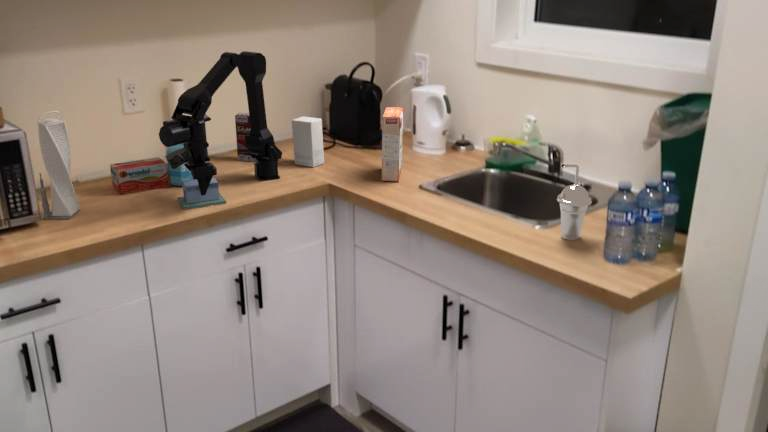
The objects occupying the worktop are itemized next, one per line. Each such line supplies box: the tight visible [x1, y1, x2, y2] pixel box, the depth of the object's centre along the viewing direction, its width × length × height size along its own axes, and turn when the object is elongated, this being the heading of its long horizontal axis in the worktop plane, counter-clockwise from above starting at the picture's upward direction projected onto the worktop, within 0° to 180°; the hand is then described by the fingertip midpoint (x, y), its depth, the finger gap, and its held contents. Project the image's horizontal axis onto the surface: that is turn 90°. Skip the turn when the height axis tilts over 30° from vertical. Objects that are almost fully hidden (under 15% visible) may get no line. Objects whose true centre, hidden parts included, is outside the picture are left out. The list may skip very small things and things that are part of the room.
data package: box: [165, 143, 193, 187], centre depth 219 cm, size 12×4×12 cm, turn 163°
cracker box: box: [381, 106, 404, 182], centre depth 224 cm, size 14×6×21 cm, turn 175°
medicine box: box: [109, 156, 170, 196], centre depth 214 cm, size 15×8×8 cm, turn 123°
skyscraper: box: [37, 110, 81, 221], centre depth 189 cm, size 8×8×28 cm
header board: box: [176, 192, 227, 211], centre depth 203 cm, size 12×9×4 cm
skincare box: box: [291, 115, 325, 168], centre depth 236 cm, size 8×7×16 cm
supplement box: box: [234, 112, 256, 163], centre depth 241 cm, size 9×5×16 cm, turn 80°
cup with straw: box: [556, 163, 592, 241], centre depth 178 cm, size 8×9×20 cm
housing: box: [181, 176, 220, 204], centre depth 203 cm, size 9×5×5 cm, turn 116°
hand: (200, 191), depth 203 cm, fingers open, 6 cm apart
